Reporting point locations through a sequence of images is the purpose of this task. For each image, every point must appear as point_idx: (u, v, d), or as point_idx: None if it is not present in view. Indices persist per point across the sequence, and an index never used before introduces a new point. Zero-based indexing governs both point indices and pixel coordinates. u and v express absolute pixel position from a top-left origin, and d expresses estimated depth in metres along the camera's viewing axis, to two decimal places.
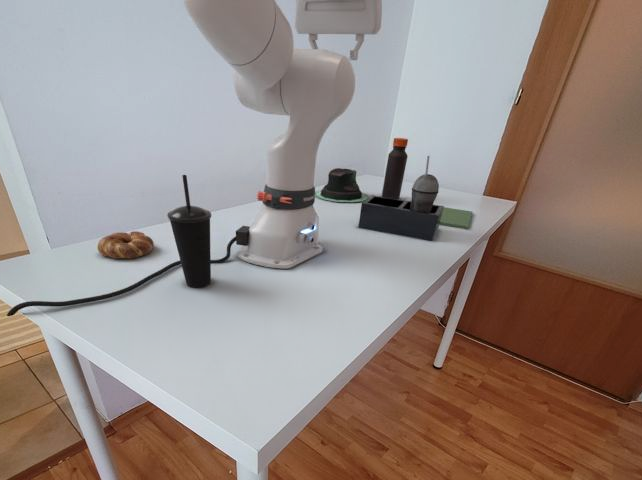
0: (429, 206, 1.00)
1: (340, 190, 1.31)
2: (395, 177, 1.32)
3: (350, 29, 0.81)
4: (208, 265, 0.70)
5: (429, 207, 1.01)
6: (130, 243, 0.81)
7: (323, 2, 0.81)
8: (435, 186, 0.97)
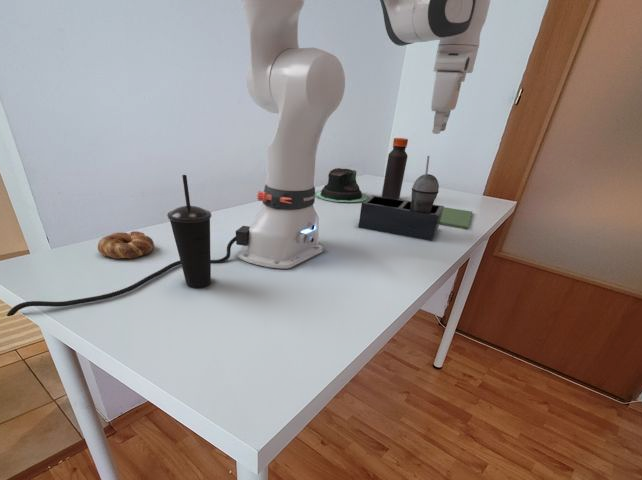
0: (429, 206, 1.00)
1: (340, 190, 1.31)
2: (395, 177, 1.32)
3: None
4: (208, 265, 0.70)
5: (429, 207, 1.01)
6: (130, 243, 0.81)
7: None
8: (435, 186, 0.97)
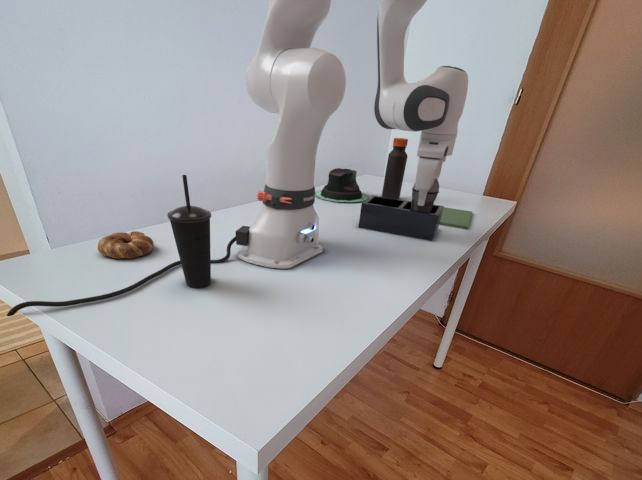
0: (429, 206, 1.00)
1: (340, 190, 1.31)
2: (395, 177, 1.32)
3: None
4: (208, 265, 0.70)
5: (429, 207, 1.01)
6: (130, 243, 0.81)
7: None
8: (435, 186, 0.97)
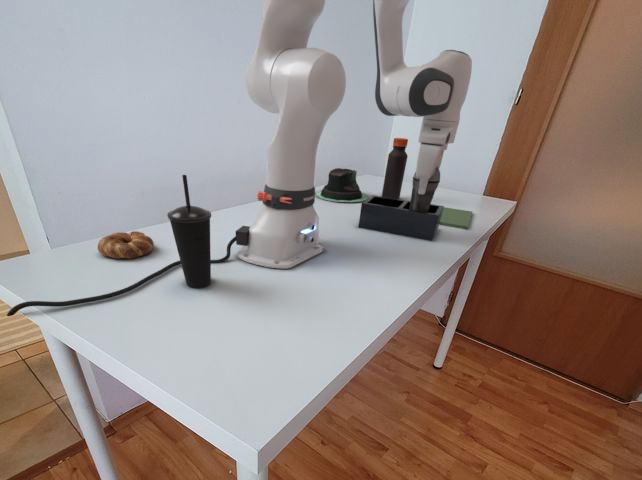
0: (430, 196, 0.99)
1: (341, 190, 1.31)
2: (395, 177, 1.32)
3: None
4: (208, 265, 0.70)
5: (430, 197, 0.99)
6: (130, 243, 0.81)
7: None
8: (436, 175, 0.95)
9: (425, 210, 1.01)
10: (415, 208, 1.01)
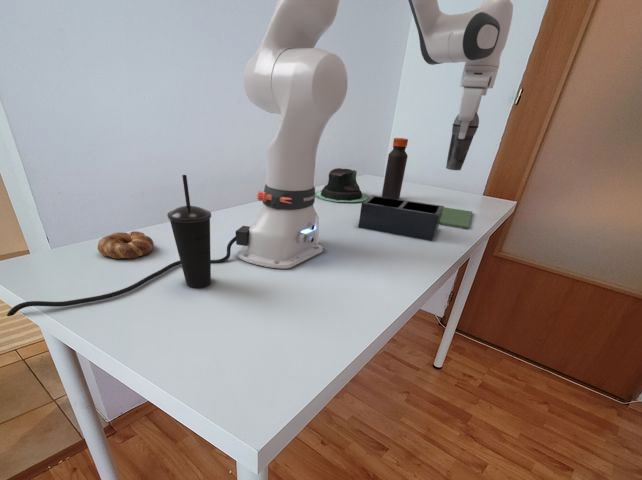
0: (469, 141, 1.07)
1: (341, 190, 1.31)
2: (395, 177, 1.32)
3: None
4: (208, 265, 0.70)
5: (469, 142, 1.07)
6: (130, 243, 0.81)
7: None
8: (476, 120, 1.03)
9: (464, 155, 1.09)
10: (454, 154, 1.09)
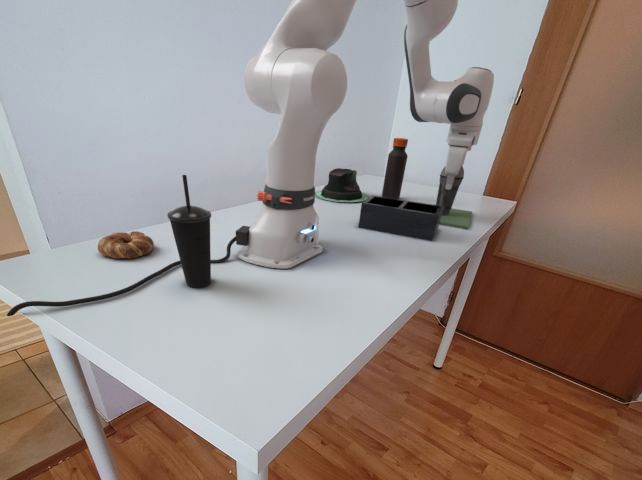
0: (455, 190, 1.15)
1: (341, 190, 1.31)
2: (395, 177, 1.32)
3: None
4: (208, 265, 0.70)
5: (455, 191, 1.15)
6: (130, 243, 0.81)
7: None
8: (461, 172, 1.12)
9: (451, 203, 1.18)
10: (442, 201, 1.18)
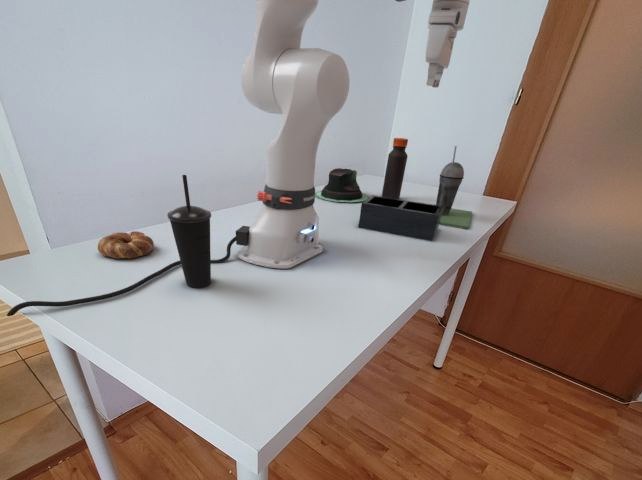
0: (455, 190, 1.15)
1: (341, 191, 1.31)
2: (395, 177, 1.32)
3: None
4: (208, 265, 0.70)
5: (455, 191, 1.15)
6: (130, 243, 0.81)
7: None
8: (461, 172, 1.12)
9: (450, 203, 1.18)
10: (442, 201, 1.18)
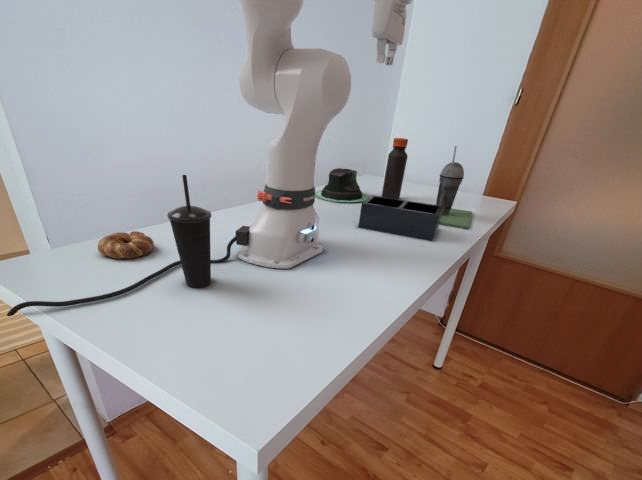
0: (455, 190, 1.15)
1: (341, 191, 1.31)
2: (395, 177, 1.32)
3: None
4: (208, 265, 0.70)
5: (455, 191, 1.15)
6: (130, 243, 0.81)
7: None
8: (461, 172, 1.12)
9: (450, 203, 1.18)
10: (442, 201, 1.18)
